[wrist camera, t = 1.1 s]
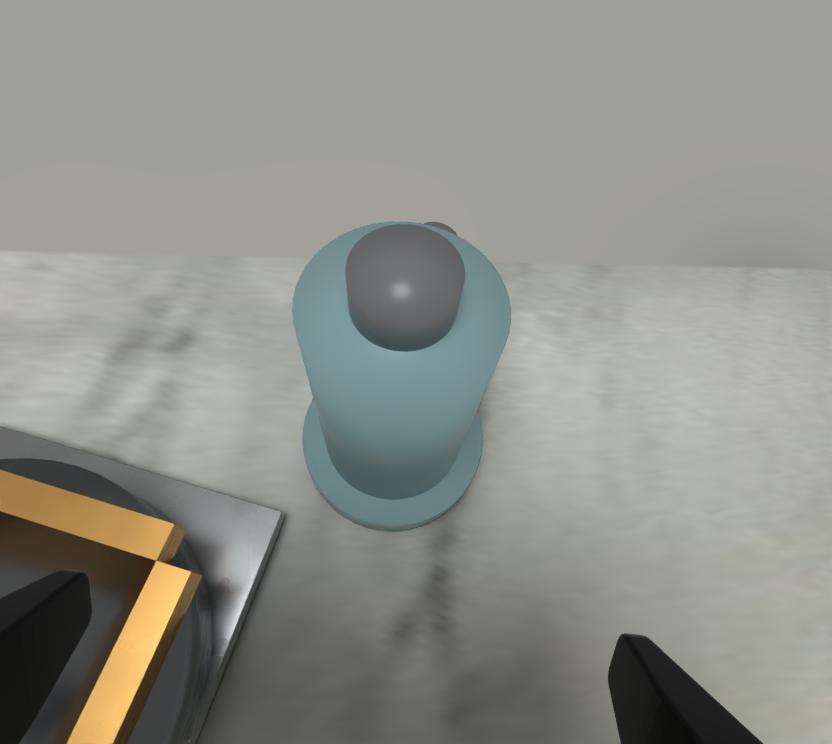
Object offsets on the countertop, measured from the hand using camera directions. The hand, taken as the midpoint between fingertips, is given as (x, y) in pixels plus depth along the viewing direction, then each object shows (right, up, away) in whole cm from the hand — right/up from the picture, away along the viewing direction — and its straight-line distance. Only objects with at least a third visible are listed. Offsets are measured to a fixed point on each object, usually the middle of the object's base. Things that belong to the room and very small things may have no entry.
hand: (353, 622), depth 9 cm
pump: (0, +1, +16) cm, 16 cm away
